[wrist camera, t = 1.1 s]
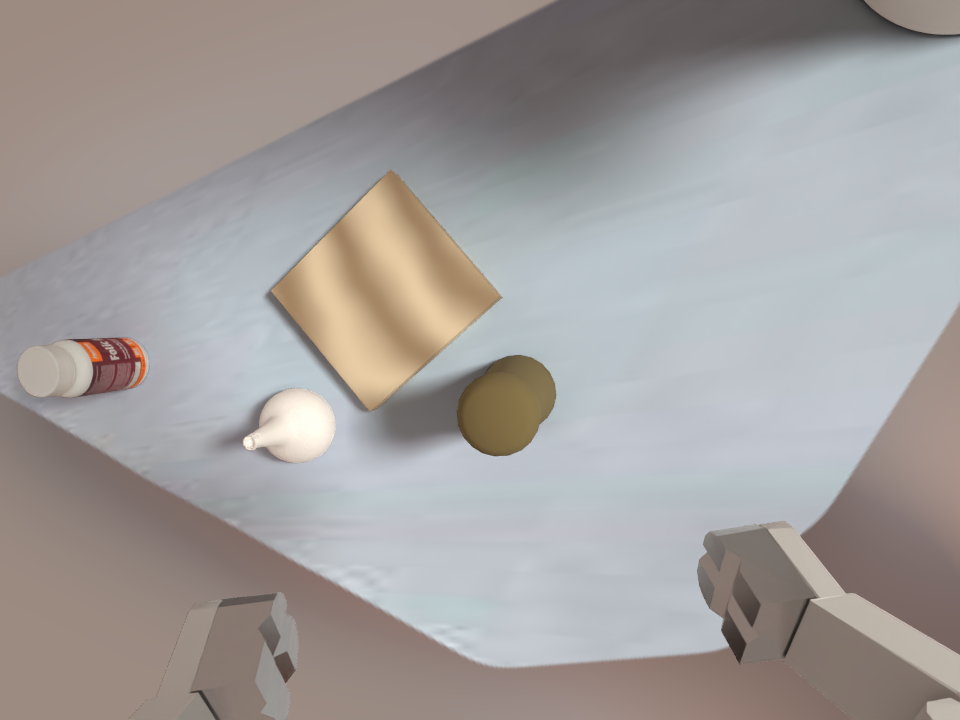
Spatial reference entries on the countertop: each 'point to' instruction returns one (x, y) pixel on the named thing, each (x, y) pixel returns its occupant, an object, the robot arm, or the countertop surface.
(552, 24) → the countertop surface
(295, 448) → the garlic bulb
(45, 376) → the pill bottle
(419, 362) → the birch board
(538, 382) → the cork
